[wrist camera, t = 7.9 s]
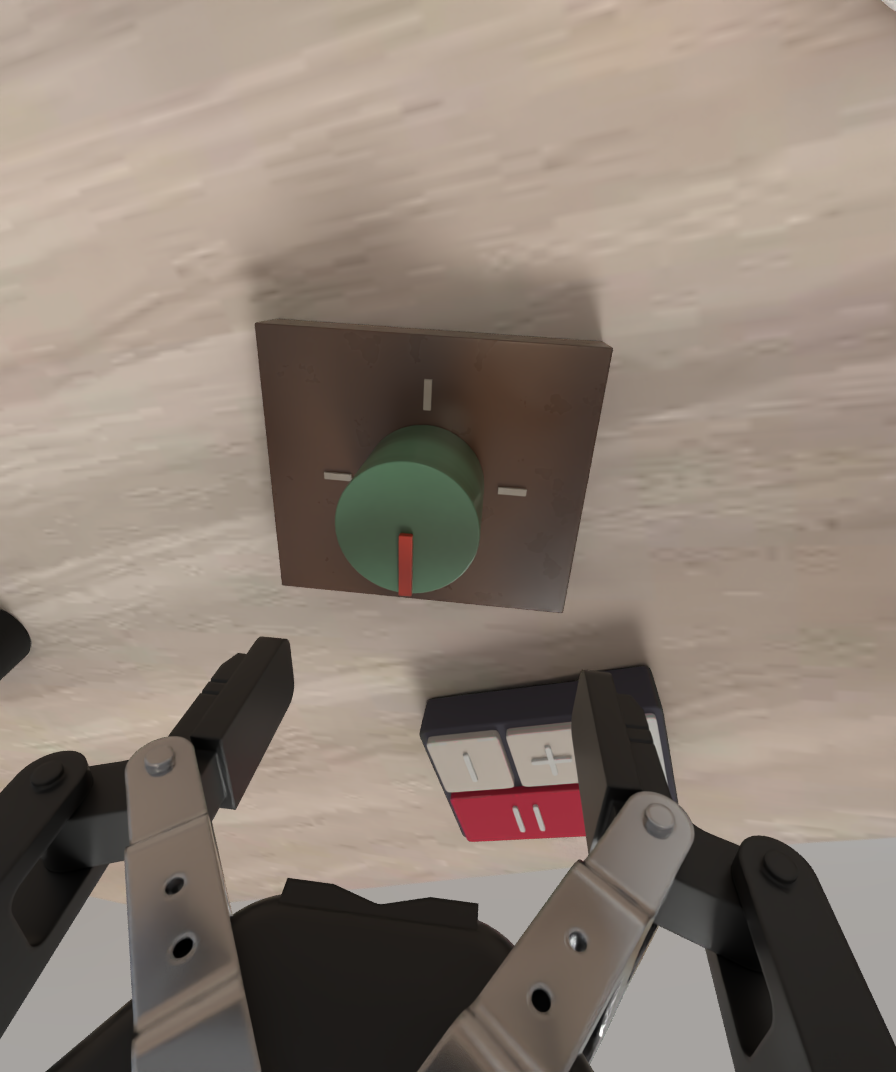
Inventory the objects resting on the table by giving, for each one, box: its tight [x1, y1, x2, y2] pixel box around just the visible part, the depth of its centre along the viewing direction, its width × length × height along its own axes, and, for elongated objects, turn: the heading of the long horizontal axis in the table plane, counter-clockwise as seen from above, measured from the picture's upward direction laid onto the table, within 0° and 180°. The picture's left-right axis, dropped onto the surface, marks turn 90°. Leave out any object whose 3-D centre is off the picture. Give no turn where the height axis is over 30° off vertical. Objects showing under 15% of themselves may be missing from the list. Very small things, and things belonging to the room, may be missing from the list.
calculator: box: [420, 666, 678, 842], centre depth 35 cm, size 11×4×15 cm
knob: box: [335, 425, 484, 596], centre depth 23 cm, size 6×6×6 cm
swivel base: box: [255, 319, 613, 613], centre depth 27 cm, size 16×14×3 cm
